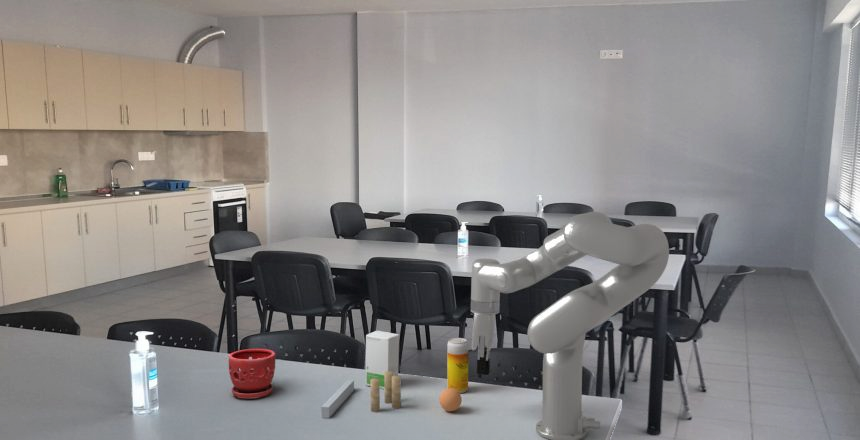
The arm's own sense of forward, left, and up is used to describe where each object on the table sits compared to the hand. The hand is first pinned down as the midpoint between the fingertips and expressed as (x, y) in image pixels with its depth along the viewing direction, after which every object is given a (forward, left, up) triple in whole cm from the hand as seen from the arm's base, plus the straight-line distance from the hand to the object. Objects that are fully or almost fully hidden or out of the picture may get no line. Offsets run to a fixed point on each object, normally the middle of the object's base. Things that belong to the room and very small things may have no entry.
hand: (483, 373), depth 185 cm
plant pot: (+67, -3, -11) cm, 68 cm away
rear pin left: (+29, +4, -11) cm, 31 cm away
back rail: (+40, 0, -11) cm, 42 cm away
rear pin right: (+27, -3, -11) cm, 29 cm away
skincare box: (+32, -17, -11) cm, 38 cm away
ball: (+9, 0, -8) cm, 12 cm away
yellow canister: (+9, -16, -11) cm, 21 cm away
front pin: (+24, 0, -11) cm, 26 cm away
